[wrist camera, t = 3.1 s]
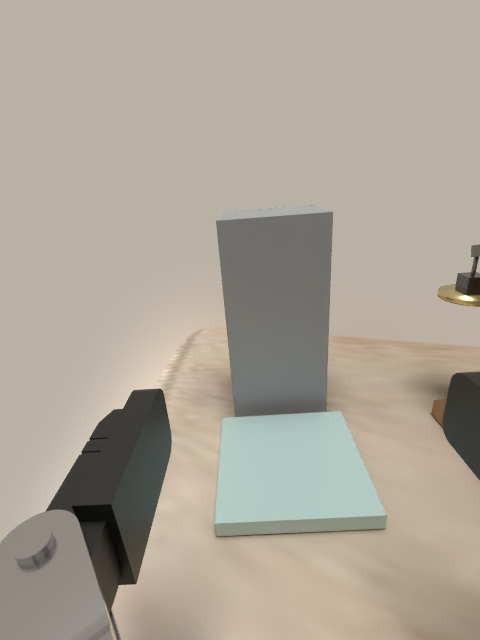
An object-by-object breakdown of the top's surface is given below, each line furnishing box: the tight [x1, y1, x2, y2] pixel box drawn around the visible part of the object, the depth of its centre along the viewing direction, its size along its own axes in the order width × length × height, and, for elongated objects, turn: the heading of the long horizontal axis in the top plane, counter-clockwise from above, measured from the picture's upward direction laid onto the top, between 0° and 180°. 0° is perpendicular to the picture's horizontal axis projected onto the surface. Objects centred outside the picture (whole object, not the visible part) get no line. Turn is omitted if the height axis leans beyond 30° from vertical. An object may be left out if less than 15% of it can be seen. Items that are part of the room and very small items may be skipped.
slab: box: [215, 411, 387, 536], centre depth 16 cm, size 7×6×1 cm
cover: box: [216, 205, 333, 417], centre depth 20 cm, size 6×5×12 cm
